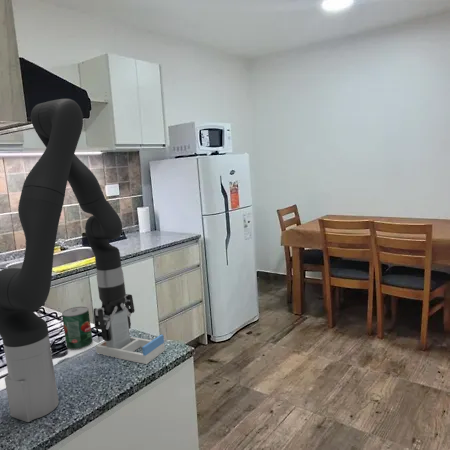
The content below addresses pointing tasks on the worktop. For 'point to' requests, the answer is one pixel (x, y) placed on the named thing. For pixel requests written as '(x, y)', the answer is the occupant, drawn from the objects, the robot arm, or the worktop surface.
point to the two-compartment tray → (149, 349)
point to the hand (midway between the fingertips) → (117, 334)
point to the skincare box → (119, 330)
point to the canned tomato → (77, 327)
